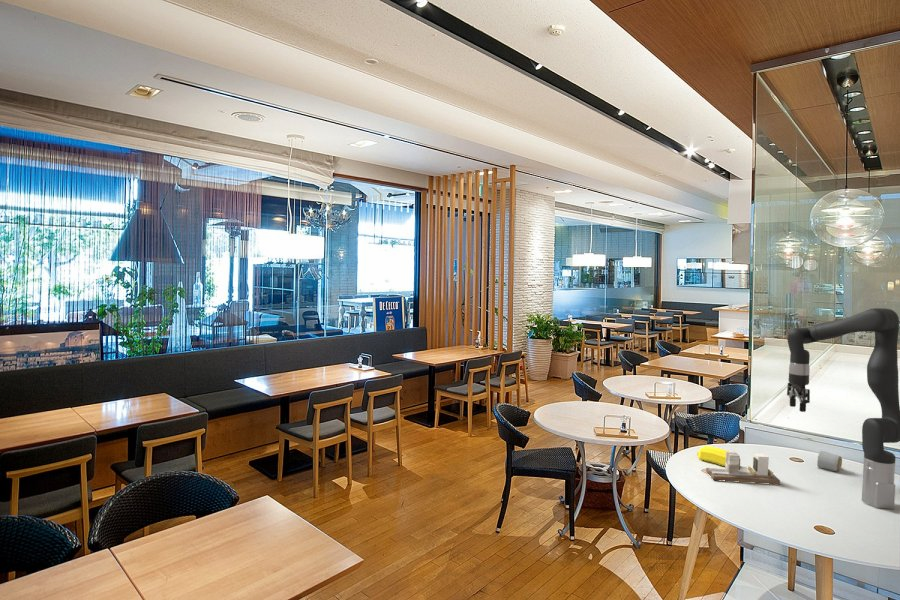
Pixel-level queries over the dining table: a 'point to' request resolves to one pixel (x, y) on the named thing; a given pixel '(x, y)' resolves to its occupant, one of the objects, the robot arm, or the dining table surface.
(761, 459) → the loose white rectangular block
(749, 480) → the wooden ladder shelf
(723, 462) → the yellow faceted pepper
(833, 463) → the ceramic mug
